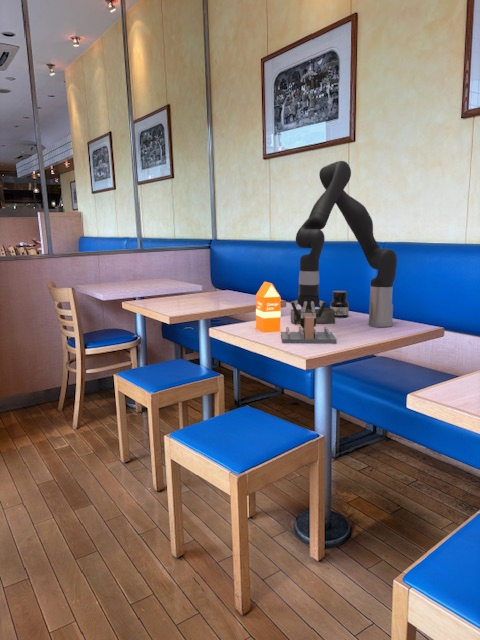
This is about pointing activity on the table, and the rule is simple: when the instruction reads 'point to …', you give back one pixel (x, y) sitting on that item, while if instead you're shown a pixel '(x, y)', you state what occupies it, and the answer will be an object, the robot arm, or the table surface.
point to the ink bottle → (340, 304)
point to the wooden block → (308, 326)
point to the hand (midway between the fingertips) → (307, 327)
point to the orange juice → (268, 309)
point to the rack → (299, 338)
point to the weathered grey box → (325, 318)
